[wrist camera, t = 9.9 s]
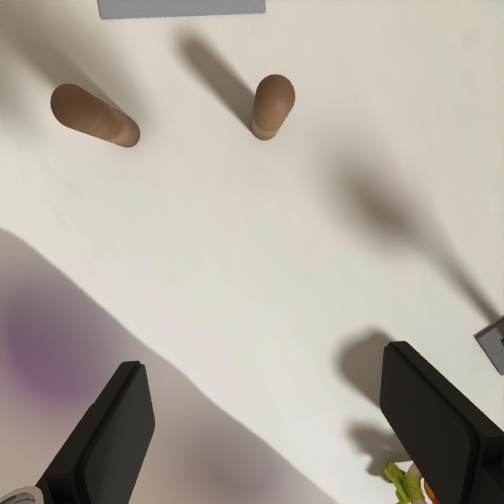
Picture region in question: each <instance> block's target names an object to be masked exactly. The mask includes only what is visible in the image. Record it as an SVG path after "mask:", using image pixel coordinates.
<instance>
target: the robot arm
mask: <svg viewBox="0 0 504 504" xmlns="http://www.w3.org/2000/svg"><path fill="white" fill-rule="evenodd" d="M380 407H381V410H382V413H383V414H384V416H385V418H386V419H387V421H388V422H389V424H390V426H391V427H392V429H393V430H394V432H395V434H396V435H397V437H398V438H399V440H400V442H401V443H402V445H403V446H404V448H405V449H406V451H407V453H408V454H409V456H410V457H411V459H412V461H413V462H414V464H415V465H416V467H417V469H418V470H419V472H420V473H421V475H422V476H423V478H424V480H425V481H426V483H427V484H428V486H429V488H430V489H431V491H432V492H433V494H434V496H435V497H436V499H437V500H438V502H439V503H440V504H504V432H503V431H502V430H501V429H500V428H499V427H498V426H497V425H496V424H495V423H494V422H492V421H491V420H490V419H489V418H488V417H487V416H486V415H485V414H484V413H483V412H482V411H481V410H480V409H478V408H477V407H476V406H475V405H474V404H473V403H472V402H471V401H470V400H469V399H468V398H467V397H466V396H464V395H463V394H462V393H461V392H460V391H459V390H458V389H457V388H456V387H455V386H454V385H453V384H452V383H450V382H449V381H448V380H447V379H446V378H445V377H444V376H443V375H442V374H441V373H440V372H439V371H438V370H436V369H435V368H434V367H433V366H432V365H431V364H430V363H429V362H428V361H427V360H426V359H425V358H424V357H422V356H421V355H420V354H419V353H418V352H417V351H416V350H415V349H414V348H413V347H412V346H411V345H410V344H408V343H407V342H406V341H396V342H389V343H388V346H385V348H384V355H383V367H382V379H381V392H380ZM154 428H155V418H154V413H153V407H152V402H151V396H150V391H149V385H148V380H147V374H146V369H145V365H143V364H140V362H139V361H128V362H122V363H121V364H120V366H119V367H118V369H117V370H116V372H115V373H114V375H113V376H112V378H111V379H110V380H109V382H108V383H107V385H106V386H105V388H104V389H103V391H102V392H101V394H100V395H99V397H98V398H97V400H96V401H95V402H94V403H93V404H92V405H91V406H90V407H89V409H88V410H87V411H86V413H85V414H84V416H83V417H82V419H81V420H80V422H79V423H78V424H77V426H76V427H75V429H74V430H73V432H72V433H71V435H70V436H69V438H68V439H67V440H66V442H65V443H64V445H63V446H62V448H61V449H60V451H59V452H58V453H57V455H56V456H55V458H54V459H53V461H52V462H51V464H50V465H49V466H48V468H47V469H46V471H45V472H44V474H43V475H42V477H41V478H40V480H39V481H38V482H37V484H36V485H35V486H25V487H22V488H18V489H15V490H13V491H11V492H10V493H8V494H6V495H4V496H2V497H1V498H0V504H128V502H129V500H130V496H131V494H132V491H133V488H134V486H135V483H136V480H137V477H138V474H139V471H140V469H141V466H142V463H143V460H144V457H145V455H146V452H147V449H148V446H149V444H150V441H151V438H152V435H153V432H154Z"/></svg>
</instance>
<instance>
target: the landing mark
mask: <svg viewBox="0 0 504 504" xmlns="http://www.w3.org/2000/svg"><path fill="white" fill-rule="evenodd" d="M98 2H99V8H100V14H101V18H102V19H123V18H149V17H175V16H201V15H227V14H253V13H265V0H98Z"/></svg>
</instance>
